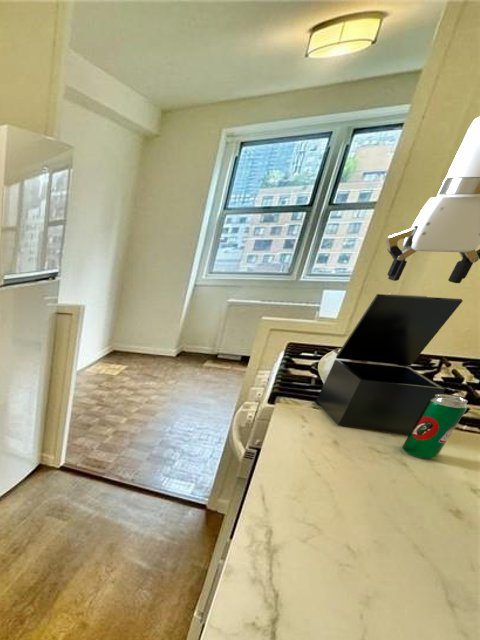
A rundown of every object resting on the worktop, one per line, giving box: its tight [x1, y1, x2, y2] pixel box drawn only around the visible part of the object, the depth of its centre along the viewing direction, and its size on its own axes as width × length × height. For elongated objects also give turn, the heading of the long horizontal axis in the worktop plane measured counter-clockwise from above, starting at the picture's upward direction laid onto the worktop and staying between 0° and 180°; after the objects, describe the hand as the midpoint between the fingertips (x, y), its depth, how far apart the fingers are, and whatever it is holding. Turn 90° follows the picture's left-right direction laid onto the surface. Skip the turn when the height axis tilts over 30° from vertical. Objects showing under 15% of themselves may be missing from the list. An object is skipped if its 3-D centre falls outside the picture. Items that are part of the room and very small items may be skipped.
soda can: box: [401, 393, 469, 460], centre depth 94 cm, size 5×5×12 cm
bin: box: [315, 360, 446, 436], centre depth 109 cm, size 16×14×11 cm
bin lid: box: [336, 293, 464, 367], centre depth 108 cm, size 16×14×5 cm
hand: (422, 281), depth 102 cm, fingers open, 9 cm apart
